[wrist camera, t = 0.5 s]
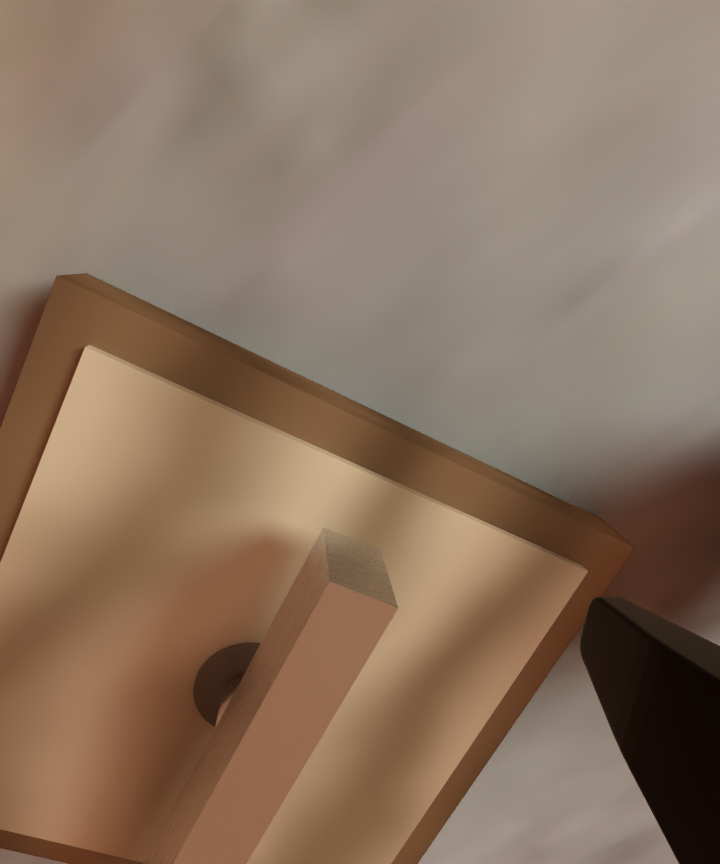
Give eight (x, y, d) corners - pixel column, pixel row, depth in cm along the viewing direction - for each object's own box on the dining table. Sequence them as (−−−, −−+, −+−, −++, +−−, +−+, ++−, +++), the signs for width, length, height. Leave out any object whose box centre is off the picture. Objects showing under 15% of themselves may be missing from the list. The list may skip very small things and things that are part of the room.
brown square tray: (600, 518, 24) (644, 555, 21) (363, 875, 29) (372, 946, 26) (86, 273, 19) (48, 276, 16) (-99, 758, 23) (-155, 830, 20)
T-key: (320, 504, 18) (329, 581, 14) (373, 526, 19) (398, 608, 15) (139, 845, 22) (102, 992, 18) (188, 857, 22) (163, 1003, 18)
